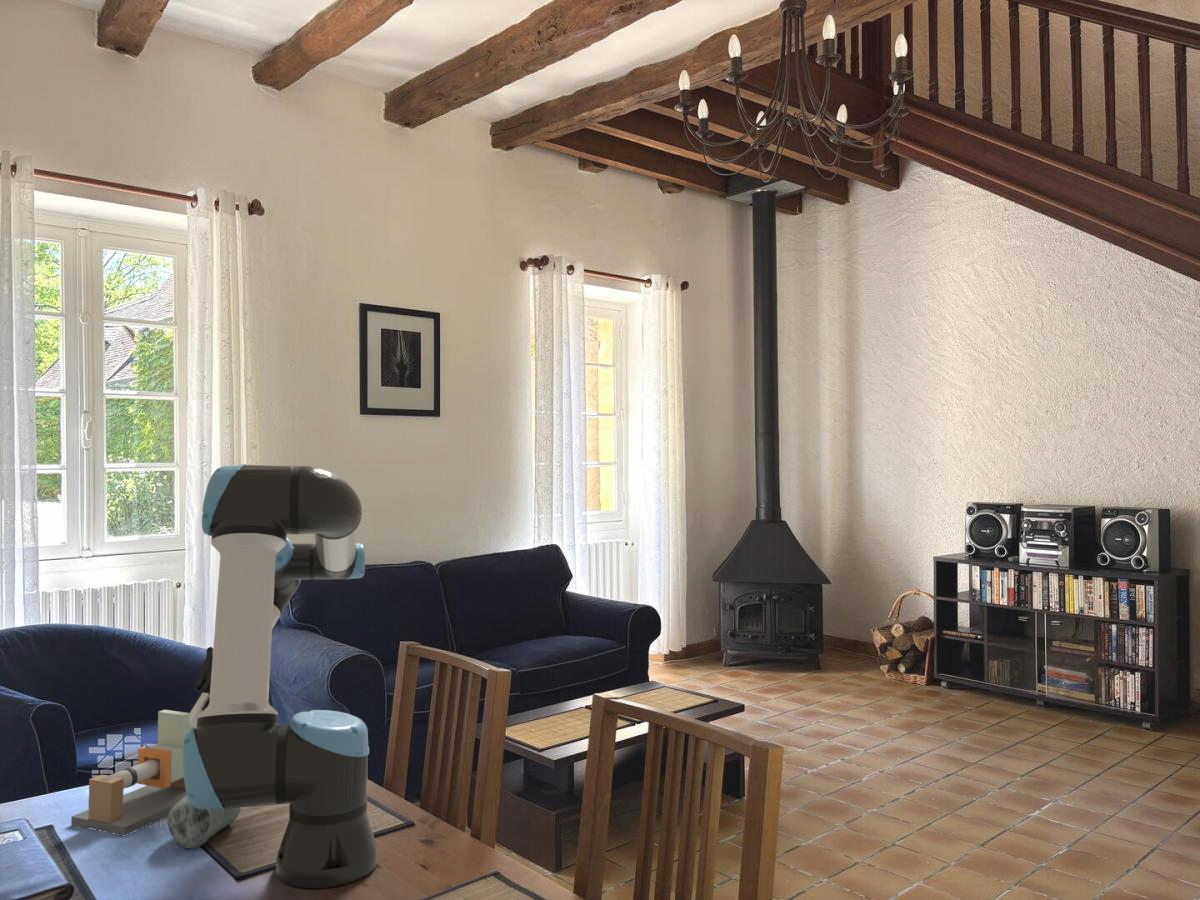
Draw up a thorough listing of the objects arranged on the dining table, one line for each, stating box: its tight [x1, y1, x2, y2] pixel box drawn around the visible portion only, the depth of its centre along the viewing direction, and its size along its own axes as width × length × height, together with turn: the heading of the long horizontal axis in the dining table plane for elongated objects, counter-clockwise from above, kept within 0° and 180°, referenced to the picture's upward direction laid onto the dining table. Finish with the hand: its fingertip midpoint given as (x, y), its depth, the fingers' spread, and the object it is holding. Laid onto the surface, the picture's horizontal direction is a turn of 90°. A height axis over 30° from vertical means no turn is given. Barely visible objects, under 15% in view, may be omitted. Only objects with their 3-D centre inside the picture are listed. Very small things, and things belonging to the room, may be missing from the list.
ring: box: [137, 746, 171, 788], centre depth 162 cm, size 6×1×6 cm, turn 71°
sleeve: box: [149, 709, 191, 783], centre depth 165 cm, size 6×4×12 cm, turn 71°
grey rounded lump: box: [166, 795, 241, 850], centre depth 150 cm, size 14×10×10 cm
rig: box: [70, 758, 187, 836], centre depth 161 cm, size 12×20×9 cm, turn 160°
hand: (190, 726), depth 171 cm, fingers closed
